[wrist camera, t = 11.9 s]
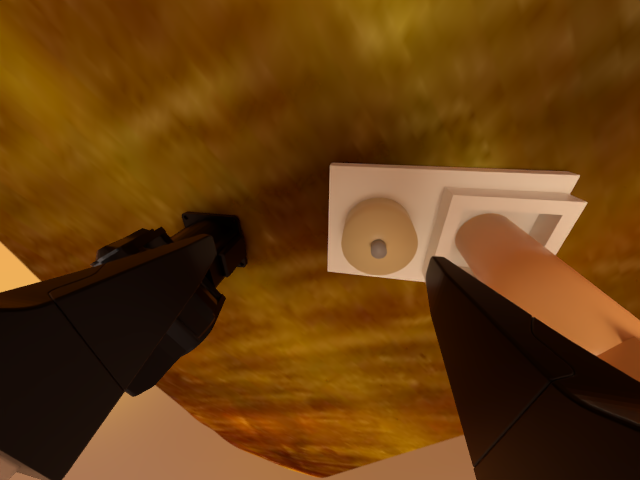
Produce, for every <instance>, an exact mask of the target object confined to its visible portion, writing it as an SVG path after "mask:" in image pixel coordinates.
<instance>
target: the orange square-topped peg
mask: <svg viewBox="0 0 640 480" xmlns="http://www.w3.org/2000/svg"><path fill="white" fill-rule="evenodd" d="M455 244H456V247H457V249H458V251H459V252H460V254H461V255H462V257H463V258H464V260H465V261H466V263H467V264H468V266H469V267H470V269H471V270H472V272H473V273H474V275H475V276H476V278H477V279H478V280H479V281H481V282H482V283H484V284H485V285H487V286H488V287H490V288H491V289H493V290H494V291H496V292H497V293H499V294H501V295H502V296H504V297H505V298H507V299H508V300H510V301H511V302H513V303H514V304H516V305H517V306H519V307H520V308H522V309H523V310H525V311H526V312H528V313H529V314H531V315H532V317H535V318H537V319H538V320H540V321H541V322H543V323H544V324H546V325H547V326H549V327H550V328H552V329H553V330H555V331H557V332H558V333H560V334H561V335H563V336H564V337H566V338H567V339H569V340H571V341H572V342H574V343H576V344H577V345H579V346H581V347H582V348H584V349H585V350H587V351H589V352H590V353H592V354H594V355H595V356H597V357H599V358H600V359H602V360H604V361H605V362H607V363H609V364H610V365H612V366H614V367H615V368H617V369H619V370H620V371H622V372H624V373H625V374H627V375H629V376H630V377H632V378H634V379H636V380H637V381H639V382H640V320H638V319H637V318H636V317H635V316H633V315H632V314H631V313H629V312H628V311H627V310H625V309H624V308H623V307H622V306H620V305H619V304H618V303H616V302H615V301H614V300H613V299H611V298H610V297H609V296H607V295H606V294H605V293H604V292H602V291H601V290H600V289H598V288H597V287H596V286H594V285H593V284H592V283H591V282H589V281H588V280H587V279H585V278H584V277H583V276H582V275H580V274H579V273H578V272H576V271H575V270H574V269H572V268H571V267H570V266H569V265H567V264H566V263H565V262H563V261H562V260H561V259H560V258H558V257H557V256H556V255H554V254H553V253H552V252H550V251H549V250H548V249H547V248H545V247H544V246H543V245H541V244H540V243H539V242H538V241H536V240H535V239H534V238H532V237H531V236H530V235H528V234H527V233H526V232H525V231H523V230H522V229H521V228H519V227H518V226H517V225H516V224H514V223H513V222H512V221H510V220H509V219H508V218H506V217H505V216H503V215H500V214H494V213H488V214H482V215H478V216H476V217H473V218H471V219H470V220H468V221H467V222H465V223H464V224H463V225H462V226H461V227H460V229H459V230H458V232H457V234H456V238H455Z"/></svg>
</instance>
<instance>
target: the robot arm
mask: <svg viewBox="0 0 640 480" xmlns="http://www.w3.org/2000/svg"><path fill="white" fill-rule="evenodd" d="M182 219H183V222H184V225H185V228H184V229H183V230H181V231H180V232H178V233H177V234H175V235H174V236H172V237H169V236H168V235H167V234H166V233H165V232H166V231H165V230H164V229H163V227H160V228H158V229H157V230H155V231H154V230H153V229H151V230H147V229H143V228H142V229H140V230H138V231H136V232H135V233H133V234H131V235H129V236H127V237H125V238H123V239H120V240H118V241H116V242H114V243H111V244H109V245H107V246H105V247H103V248H101V249H99V250H98V251H97V255H96V261H95V262H93V263H92V264H90V265H91V266H92V267H91V268H88V269H85V270H81V271H78V272H74V273H71V274H67V275H64V276H60V277H56V278H53V279H49V280H45V281H42V282H38V283H34V284H31V285H27V286H23V287H19V288H16V289H13V290H8V291H5V292H1V293H0V480H9V479H10V478H11V477H12V476H13V475H14V474H15V473H16V472H19V473H22V474H25V475H28V476H31V477H35V478H38V479H41V480H62V479H63V478H64V477H65V475H66V474H67V473H68V471H69V470H70V468H71V467H72V465H73V464H74V463H75V461H76V460H77V458H78V457H79V456H80V454H81V453H82V451H83V450H84V449H85V447H86V446H87V444H88V443H89V441H90V440H91V438H92V437H93V436H94V434H95V433H96V431H97V430H98V429H99V427H100V426H101V424H102V423H103V422H104V420H105V419H106V417H107V416H108V414H109V413H110V412H111V410H112V409H113V407H114V406H115V405H116V403H117V402H118V400H119V399H120V397H121V396H122V395H123V393H124V392H126V393H128V394H129V395H131V396H133V397H134V396H137V395H139V394H141V393H142V392H144V391H146V390H148V389H150V388H152V387H153V386H154V385H155V384H156V383H157V382H158V381H159V380H160V379H161V378H162V377H163V375H164V374H165V373H166V372H167V371H168V370H169V369H170V368H171V366H172V365H173V364H174V363H175V362H176V361H177V360H178V359H179V358H180V357H181V356H183V355H185V354H187V353H189V352H190V351H192V350H193V349H194V348H196V347H197V346H198V345H199V344H200V343H201V342H202V341H203V340H204V339H205V338H206V337H207V336H208V334H209V333H210V332H211V330H212V328H213V327H214V324H215V322H216V320H217V318H218V315H219V313H220V311H221V308H222V306H223V304H224V301H225V299H226V297H225V296H224V295H223V294H221V293H220V292H219V291H218V290H217V289H216V287H217V286H218V285H219V283H220V282H221V281H222V280H223V279H224V277H228V276H230V274H231V273H232V272H233V271H234V270H235V268H236V267H245V266H246V265H247V259H246V249H245V243H244V238H243V236H242V233H241V227H240V222H239V219H238V217H236V216H233V215H220V214H207V213H194V212H185V213H183V214H182ZM233 220H235V222H234V221H233ZM426 286H427V292H428V299H429V306H430V312H431V317H432V321H433V325H434V328H435V332H436V335H437V339H438V342H439V346H440V350H441V353H442V357H443V360H444V364H445V368H446V371H447V375H448V378H449V382H450V385H451V389H452V393H453V396H454V400H455V403H456V407H457V411H458V414H459V418H460V421H461V425H462V428H463V432H464V436H465V439H466V442H467V446H468V450H469V453H470V457H471V460H472V464H473V466H474V467H475V468H474V472H475V475H476V479H477V480H640V382H639V381H637V380H636V379H634V378H632V377H630V376H629V375H627V374H625V373H624V372H622V371H620V370H619V369H617V368H615V367H614V366H612V365H610V364H609V363H607V362H605V361H604V360H602V359H600V358H599V357H597V356H595V355H594V354H592V353H590V352H589V351H587V350H585V349H584V348H582V347H581V346H579V345H577V344H576V343H574V342H572V341H571V340H569V339H567V338H566V337H564V336H563V335H561V334H560V333H558V332H557V331H555V330H553V329H552V328H550V327H549V326H547V325H546V324H544V323H543V322H541V321H540V320H538V319H537V318H535V317H532V315H531V314H529V313H528V312H526V311H525V310H523V309H522V308H520V307H519V306H517V305H516V304H514V303H513V302H511V301H510V300H508V299H507V298H505V297H504V296H502V295H501V294H499V293H497V292H496V291H494V290H493V289H491V288H490V287H488V286H487V285H485V284H484V283H482V282H481V281H479V280H478V279H476V278H475V277H473V276H472V275H470V274H469V273H467V272H466V271H464V270H463V269H461V268H460V267H458V266H457V265H455V264H454V263H452V262H451V261H449V260H448V259H446V258H445V257H441V256H432V257H431V259H430V261H429V265H428V268H427V272H426Z"/></svg>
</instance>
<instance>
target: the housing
mask: <svg viewBox="0 0 640 480" xmlns="http://www.w3.org/2000/svg"><path fill="white" fill-rule="evenodd" d="M579 177H580V175H577V174H574V173H571V172H568V171H543V170H516V169H490V168H463V167H436V166H409V165H383V164H356V163H331V164H330V179H329V226H328V272H338V273H347V274H356V275H365V276H374V277H383V278H393V279H402V280H411V281H420V282H426V272H427V268H428V265H429V261H430V259H431V257H432V256H441V257H445V258H446V259H448V260H449V261H451V262H452V263H454V264H455V265H457V266H458V267H460V268H461V269H463V270H464V271H466V272H467V273H469V274H470V275H472V276H473V277H475V278H476V276H475V275H474V273H473V272H472V270H471V269H470V267H469V266H468V264H467V263H466V261H465V260H464V258H463V257H462V255H461V254H460V252H459V251H458V249H457V247H456V244H455V238H456V234H457V232H458V230H459V229H460V227H461V226H462V225H463V224H464V223H465V222H467V221H468V220H470V219H471V218H473V217H476V216H478V215H482V214H488V213H494V214H500V215H503V216H505V217H506V218H508V219H509V220H510V221H512V222H513V223H514V224H516V225H517V226H518V227H519V228H521V229H522V230H523V231H525V232H526V233H527V234H528V235H530V236H531V237H532V238H534V239H535V240H536V241H538V242H539V243H540V244H541V245H543V246H544V247H545V248H547V249H548V250H549V251H550V252H552V253H553V254H554V255H556V253H557V252H558V250H559V248H560V247H561V245H562V244H563V242H564V240H565V239H566V237H567V235H568V234H569V232H570V230H571V229H572V227H573V226H574V224H575V222H576V221H577V219H578V217H579V216H580V214H581V213H582V211H583V209H584V208H585V206H586V204H587V203H588V202H586V201H583V200H581V199H579V198H576V197H574V196H572V195H570V193H571V191H572V189H573V188H574V186H575V184H576V182H577V180H578V179H579ZM476 279H477V278H476Z"/></svg>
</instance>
